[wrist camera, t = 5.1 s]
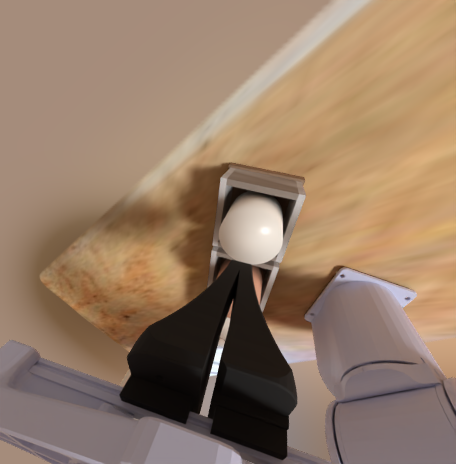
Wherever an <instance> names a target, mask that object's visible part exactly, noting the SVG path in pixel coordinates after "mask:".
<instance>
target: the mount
mask: <svg viewBox="0 0 456 464" xmlns="http://www.w3.org/2000/svg"><path fill="white" fill-rule="evenodd" d="M304 182H305V179H304V177H300V176H295V175H290V174H285V173H280V172H275V171H270V170H265V169H260V168H256V167H251V166H246V165H241V164H236V163H230V164H229V168H228V171H227V172H226V173H225V174H224V175H223V176H222V177H221V180H220V188H219V196H218V204H217V212H216V220H215V228H214V236H213V244H212V245H214V247H213V249H212V252H211V260H210V268H209V276H208V284H207V288H208V287H209V286H210V285H211V284H212V283H213V282H214V281H215V280H216V278H217V275H218V273H219V270H220V268H221V265H222V263H223V262H224V261H225V260H226V259H230V260H235V259H233V258H232V257H230V256H229V255H228V254H227V253H226V252H225V251H224V249H223V248H222V246H221V244H220V240H219V229H220V226H221V224H222V222H223V220H224V218H225V217H226V215H227V213H228V211H229V209H230V208H231V206H232V204H233V202H234V201H235V199H236V198H237V197H238V196H240V195H241V194H243V193H245V192H248V191H255V192H260V193H265V194H269V195H272V196H273V197H275V198H276V200H277V201H278V202H279V204H280V205H281V208H282V212H283V244H282V247H281V249H280V251H279V253H278V254H277V255H276V256H275V257H274V258H273V259H271V260H270V261H268V262H265V263H262V264H255V265H253V264H251V265H253V266H257V267H261V269H262V271H263V281H262V290H261V298H260V308H261V311H262V312H263V310H264V307H265V305H266V302H267V299H268V297H269V294H270V291H271V289H272V286H273V283H274V281H275V278H276V275H277V272H278V270H279V263H281V262H282V259H283V256H284V254H285V251H286V248H287V245H288V243H289V240H290V237H291V235H292V232H293V229H294V227H295V224H296V221H297V219H298V216H299V213H300V210H301V208H302V205H303V202H304V200H305V197H306V194H305V191H304V187H303V185H304Z"/></svg>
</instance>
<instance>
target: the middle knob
mask: <svg viewBox="0 0 456 464" xmlns="http://www.w3.org/2000/svg"><path fill="white" fill-rule="evenodd" d="M230 261H231V260H230V259H226V260H225V261H224V262H223V263H222V265H221V268H220V270H219V273H218V275H217V278H218V277H219V276H220V274H221V273H222V272H223V271H224V270H225V268H226V267H227V266H228V264H229V263H230ZM252 266H253V265H252ZM252 272H253V281H254V286H255V290H256V295H257V298H258V302H259V305H260V298H261V290H262V281H263V271H262V269H261V267H257V266H253V267H252ZM217 278H216V279H217ZM232 304H233V301H232ZM232 304H231V307H230V310H229V312H228V315H227V317H228V318H230V317H231V311H232Z"/></svg>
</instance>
